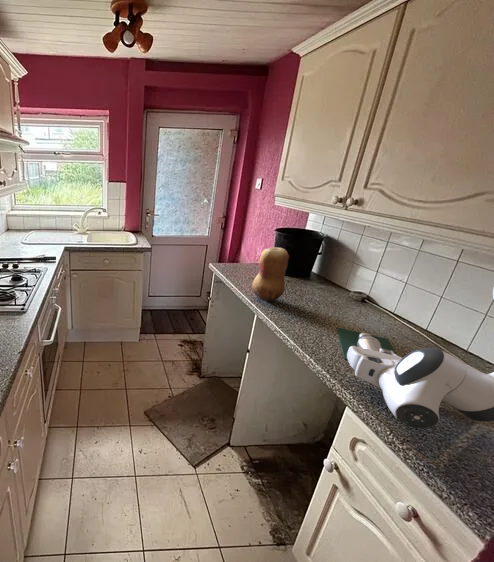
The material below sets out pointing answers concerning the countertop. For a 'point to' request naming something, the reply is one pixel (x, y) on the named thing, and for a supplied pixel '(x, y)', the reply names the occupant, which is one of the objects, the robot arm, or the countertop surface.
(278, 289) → the butternut squash
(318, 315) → the countertop surface
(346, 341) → the rubber mat
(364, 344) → the plastic bottle
